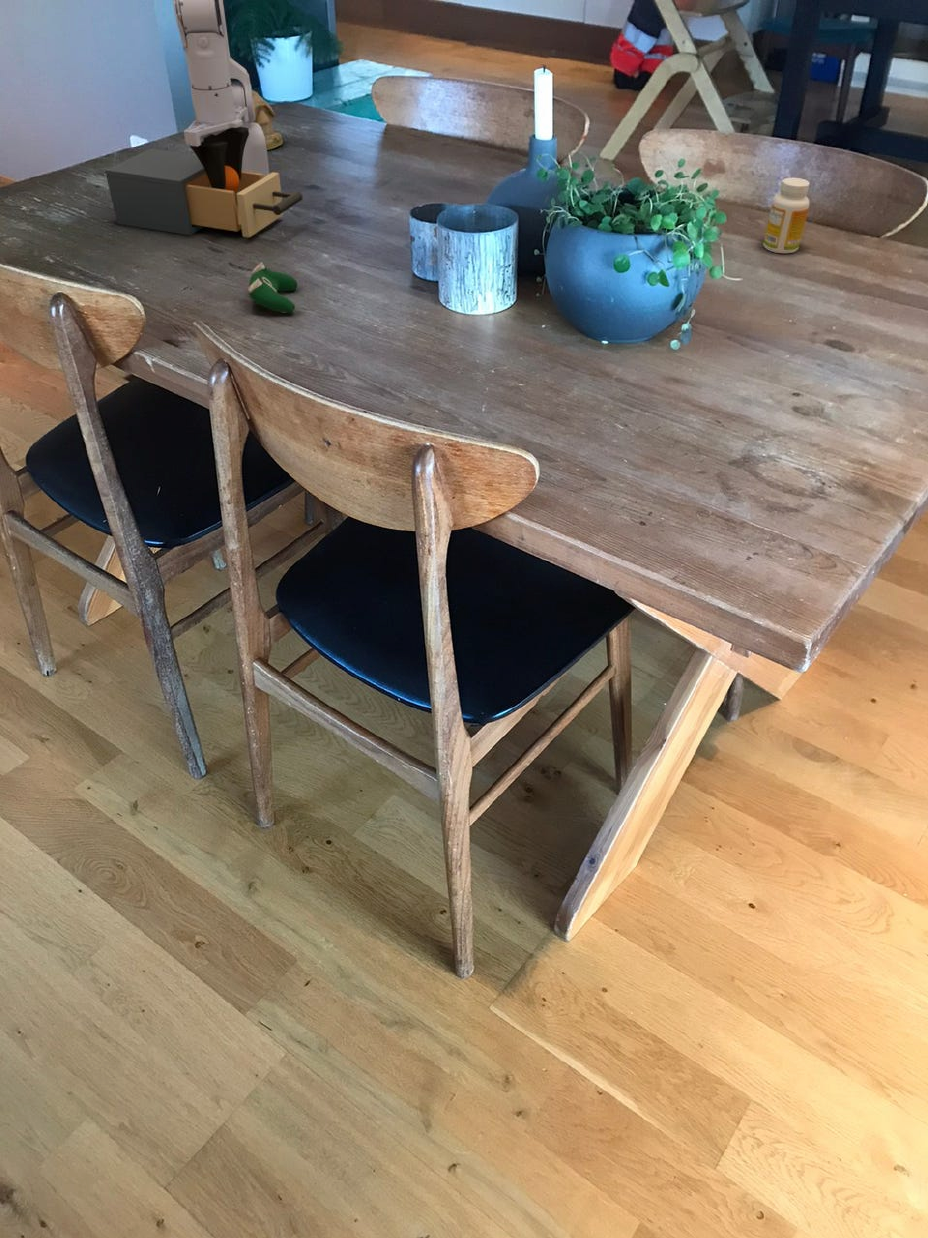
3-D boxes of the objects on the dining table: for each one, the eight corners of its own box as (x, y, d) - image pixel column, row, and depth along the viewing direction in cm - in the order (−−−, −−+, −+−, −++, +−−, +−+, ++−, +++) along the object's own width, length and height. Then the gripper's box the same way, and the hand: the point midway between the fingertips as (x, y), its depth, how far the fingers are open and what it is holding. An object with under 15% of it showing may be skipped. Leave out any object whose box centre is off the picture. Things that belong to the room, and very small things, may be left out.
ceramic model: (209, 139, 183) (200, 81, 176) (257, 128, 188) (250, 72, 182) (249, 155, 175) (241, 96, 168) (298, 144, 181) (292, 86, 174)
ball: (236, 187, 147) (232, 160, 144) (244, 195, 144) (240, 167, 142) (211, 191, 145) (207, 164, 143) (219, 199, 143) (215, 171, 140)
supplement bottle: (799, 243, 145) (816, 177, 138) (796, 256, 141) (813, 189, 134) (764, 239, 146) (779, 173, 140) (760, 251, 142) (775, 184, 136)
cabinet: (231, 210, 153) (223, 157, 148) (190, 235, 145) (180, 180, 140) (161, 199, 157) (150, 147, 151) (117, 223, 148) (104, 169, 143)
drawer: (311, 218, 148) (307, 176, 144) (277, 242, 141) (272, 198, 137) (216, 204, 153) (210, 163, 149) (179, 226, 145) (171, 183, 141)
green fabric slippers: (283, 300, 132) (248, 271, 129) (299, 280, 130) (264, 251, 127) (279, 329, 125) (242, 299, 122) (296, 309, 123) (259, 278, 120)
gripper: (207, 99, 129) (224, 201, 138) (260, 76, 139) (272, 172, 148) (164, 94, 130) (183, 195, 140) (219, 71, 140) (233, 167, 150)
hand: (226, 183), depth 144 cm, fingers closed on ball, 4 cm apart
